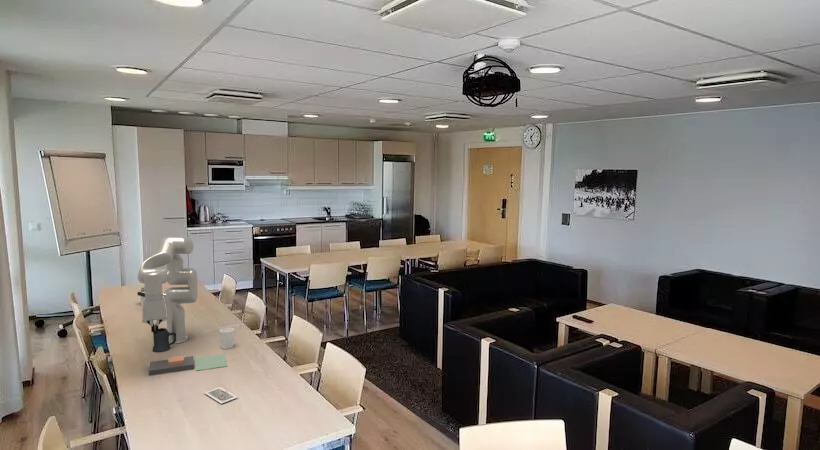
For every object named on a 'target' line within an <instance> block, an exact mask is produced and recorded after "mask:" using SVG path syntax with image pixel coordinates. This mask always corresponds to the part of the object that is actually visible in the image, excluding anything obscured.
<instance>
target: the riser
mask: <svg viewBox="0 0 820 450" xmlns="http://www.w3.org/2000/svg"><path fill="white" fill-rule="evenodd" d="M194 358H195V357H194V356H193V355H191V356H184V364H180V365H173V366H168V359H169V358H167V359H160V360H159V359H158V360H152V361H149V366H148V376H155V375H164V374H170V373H177V372H182V371H191V370H195V360H194Z"/></svg>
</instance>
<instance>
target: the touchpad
mask: <svg viewBox="0 0 820 450" xmlns="http://www.w3.org/2000/svg"><path fill="white" fill-rule="evenodd" d="M204 394H205V395H207V396H208V397H210V398H211V399H212V400H215V401H216V402H218V403H220V404H223V403H224V404H225V403H226V402H229V401H232V400H234V399H235V400H236V399H237V398H238V396H237V395H235V394H233V393H231V391H228V390H227V389H226V388H223V387H221V386H219V387H216V388H213V389H211V390H208V391H205V392H204Z"/></svg>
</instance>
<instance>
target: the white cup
mask: <svg viewBox="0 0 820 450" xmlns="http://www.w3.org/2000/svg"><path fill="white" fill-rule="evenodd" d="M219 339H220V341H219V342H220V348H221V349H223V350H229V349H232V348H233V347H234V345H235V328H234V327H224V328H221V329H219Z"/></svg>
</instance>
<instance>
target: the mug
mask: <svg viewBox="0 0 820 450" xmlns="http://www.w3.org/2000/svg"><path fill="white" fill-rule="evenodd" d="M152 334H153V333H152ZM169 335H174V341H173V342H171V343H170V344H169ZM152 338H153V346H152V350H151V351H152V352H153V353H164V352H167V351H170V350H171V345H175V344H174V343H175V342H176V332H172V333H169V332H168V331H167V327H166V328H165V327H160V328H158V331H157V334H153V337H152Z"/></svg>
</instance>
